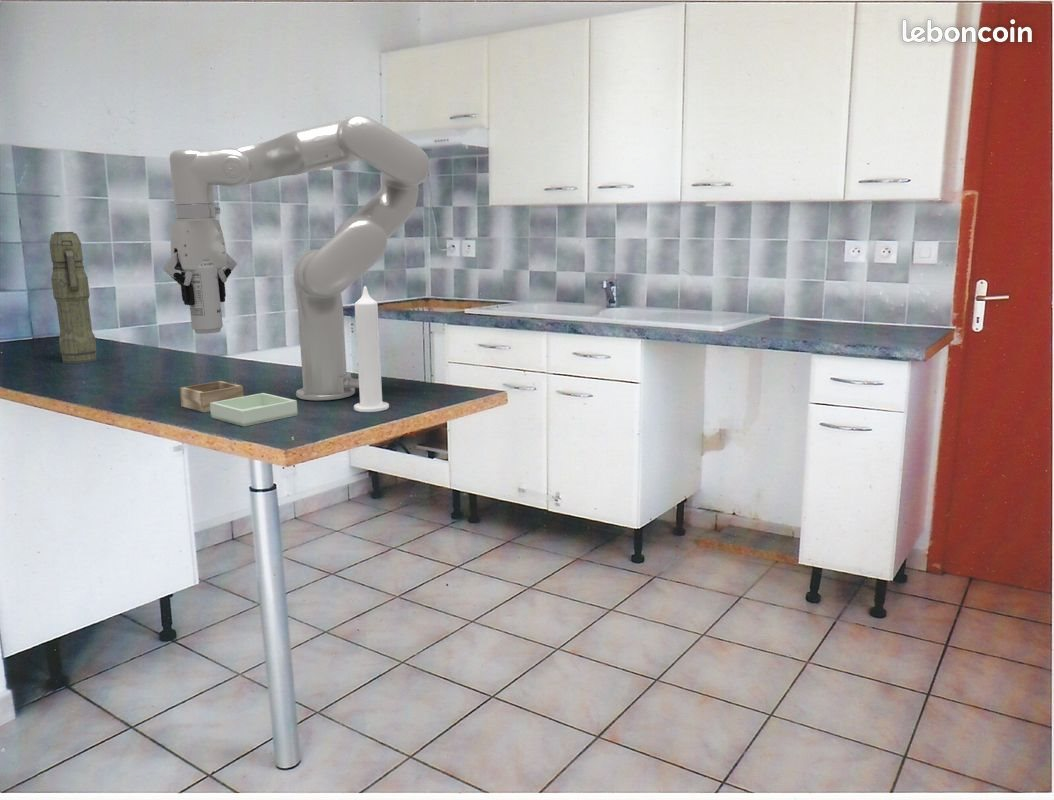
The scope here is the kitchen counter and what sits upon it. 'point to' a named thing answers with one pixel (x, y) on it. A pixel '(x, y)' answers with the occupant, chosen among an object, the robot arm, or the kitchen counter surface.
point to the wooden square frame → (208, 394)
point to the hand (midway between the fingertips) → (204, 302)
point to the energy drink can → (206, 299)
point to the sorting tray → (253, 409)
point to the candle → (368, 355)
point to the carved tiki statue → (72, 299)
